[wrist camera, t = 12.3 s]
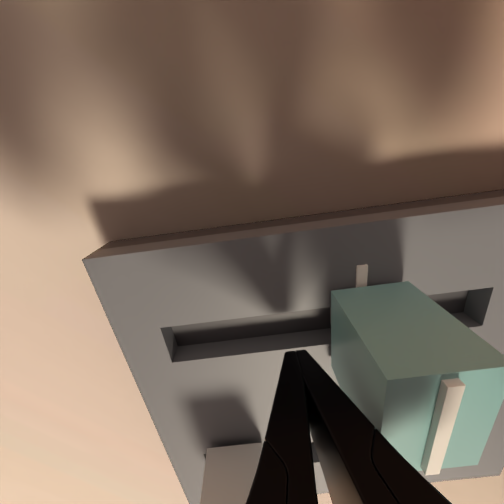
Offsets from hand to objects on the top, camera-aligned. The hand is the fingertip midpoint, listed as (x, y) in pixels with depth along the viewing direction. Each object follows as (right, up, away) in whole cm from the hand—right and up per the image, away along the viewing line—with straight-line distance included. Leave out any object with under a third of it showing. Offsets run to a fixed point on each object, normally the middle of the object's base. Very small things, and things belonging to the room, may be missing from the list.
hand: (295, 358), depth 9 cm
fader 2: (+3, +1, +2) cm, 4 cm away
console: (+3, -2, +5) cm, 6 cm away
